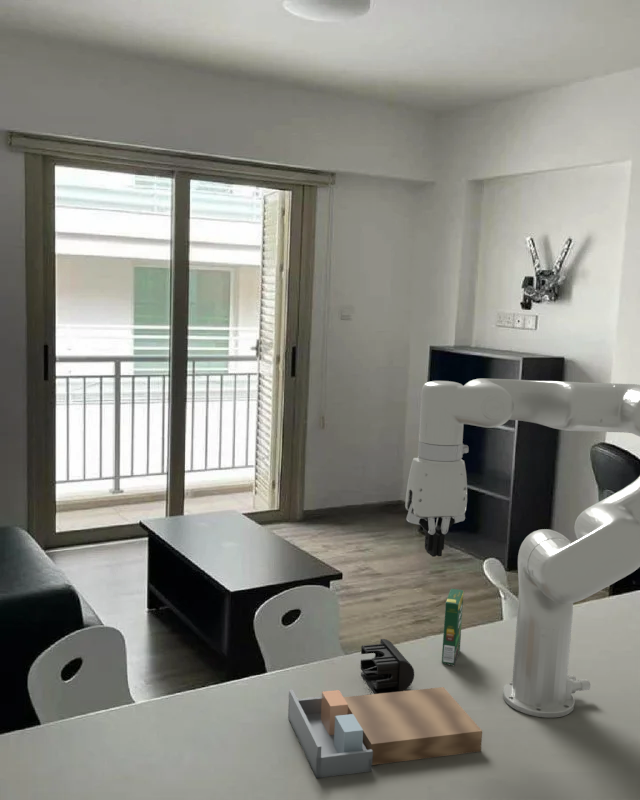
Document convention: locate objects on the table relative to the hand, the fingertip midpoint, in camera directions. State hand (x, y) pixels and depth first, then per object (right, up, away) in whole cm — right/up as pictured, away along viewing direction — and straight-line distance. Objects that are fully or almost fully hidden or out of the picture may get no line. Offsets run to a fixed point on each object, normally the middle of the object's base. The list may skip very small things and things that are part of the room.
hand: (433, 553), depth 145 cm
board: (-5, -28, -9) cm, 30 cm away
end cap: (-8, -26, +9) cm, 29 cm away
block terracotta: (-16, -25, -8) cm, 31 cm away
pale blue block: (-14, -26, -16) cm, 33 cm away
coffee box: (+6, -25, +21) cm, 33 cm away
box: (-19, -28, -12) cm, 36 cm away
